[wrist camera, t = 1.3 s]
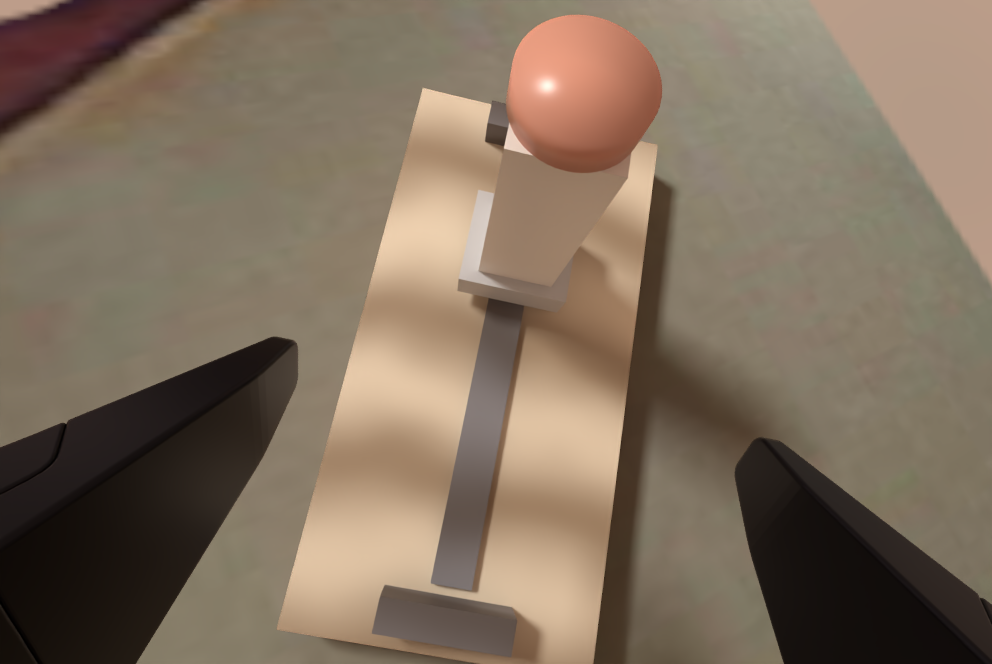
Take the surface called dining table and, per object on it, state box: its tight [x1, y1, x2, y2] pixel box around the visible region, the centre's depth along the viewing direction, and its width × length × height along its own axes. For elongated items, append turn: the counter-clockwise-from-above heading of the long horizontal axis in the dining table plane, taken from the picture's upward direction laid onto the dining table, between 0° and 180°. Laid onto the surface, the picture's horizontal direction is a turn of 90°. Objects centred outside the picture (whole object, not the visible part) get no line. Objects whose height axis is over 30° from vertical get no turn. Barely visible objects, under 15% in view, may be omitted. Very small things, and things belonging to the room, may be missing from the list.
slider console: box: [277, 88, 658, 664], centre depth 21 cm, size 24×12×3 cm, turn 169°
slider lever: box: [457, 15, 662, 313], centre depth 16 cm, size 4×4×11 cm
